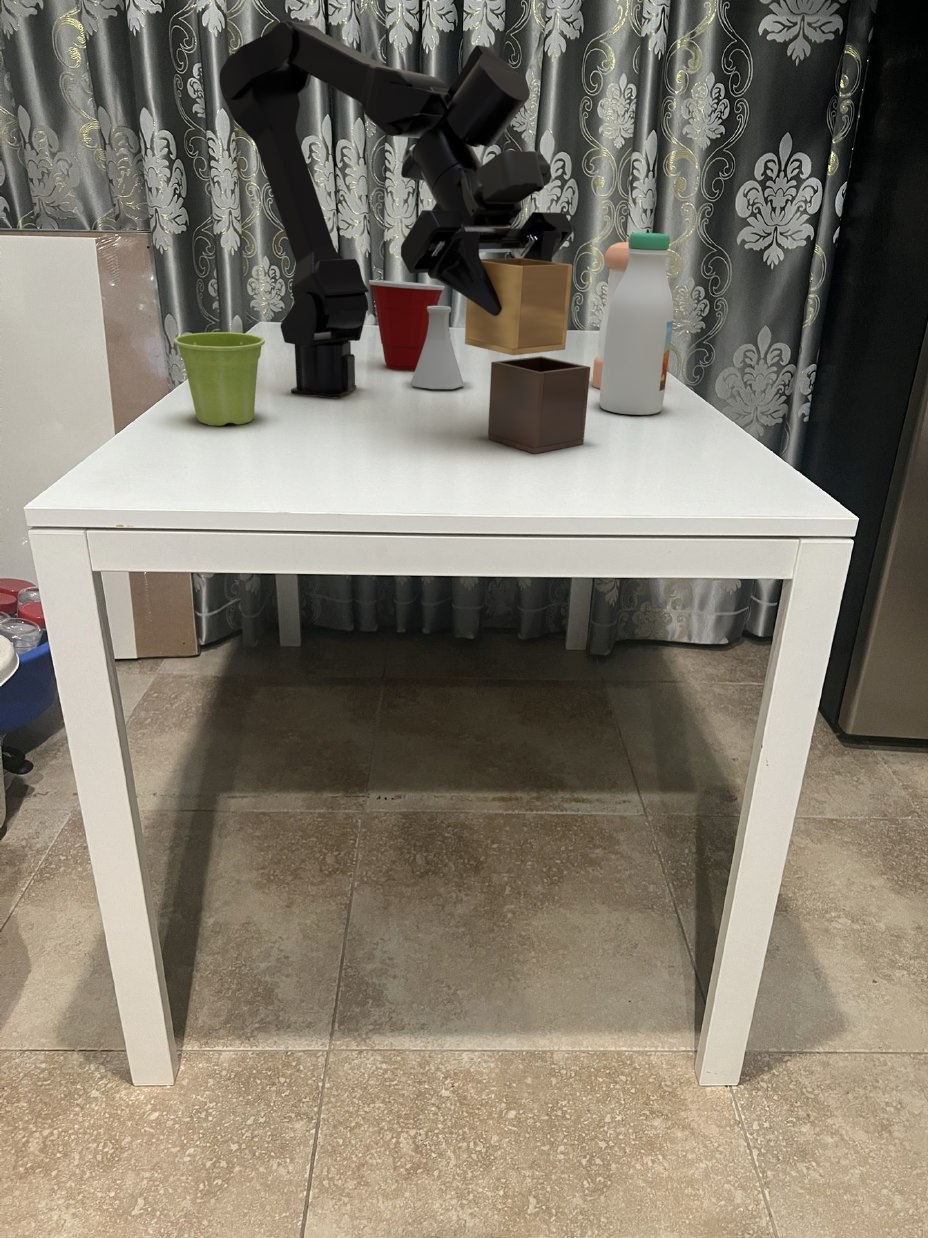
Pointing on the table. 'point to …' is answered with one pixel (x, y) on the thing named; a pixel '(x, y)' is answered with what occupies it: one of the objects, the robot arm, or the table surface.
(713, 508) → the table surface
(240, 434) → the table surface
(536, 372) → the box
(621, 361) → the milk bottle
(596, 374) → the pepper shaker
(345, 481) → the table surface
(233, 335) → the plant pot
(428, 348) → the flask
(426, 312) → the plastic cup
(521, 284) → the light brown open box
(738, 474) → the table surface
